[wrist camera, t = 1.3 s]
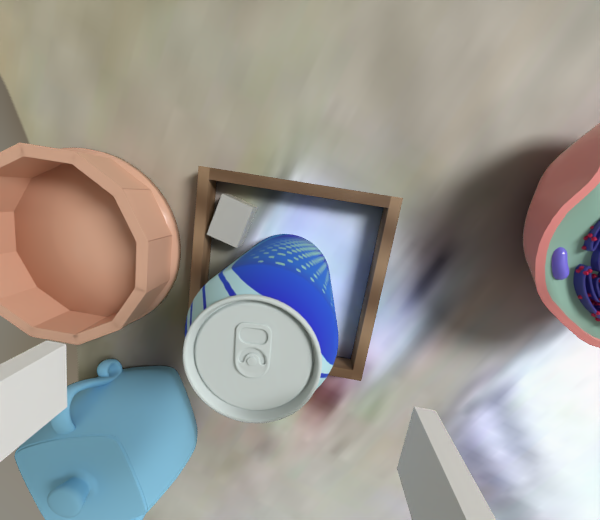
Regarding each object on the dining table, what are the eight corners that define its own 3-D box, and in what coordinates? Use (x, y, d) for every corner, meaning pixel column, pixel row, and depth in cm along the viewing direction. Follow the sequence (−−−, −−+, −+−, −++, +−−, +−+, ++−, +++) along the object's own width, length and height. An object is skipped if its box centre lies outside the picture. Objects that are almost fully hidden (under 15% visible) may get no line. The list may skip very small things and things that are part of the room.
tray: (207, 168, 27) (198, 165, 25) (396, 198, 27) (402, 198, 25) (193, 340, 31) (184, 349, 29) (358, 369, 31) (361, 380, 29)
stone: (230, 194, 28) (222, 193, 26) (258, 206, 28) (253, 207, 26) (215, 231, 29) (206, 234, 26) (243, 244, 29) (236, 248, 27)
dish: (5, 136, 28) (-62, 123, 23) (186, 164, 27) (157, 157, 22) (16, 308, 32) (-39, 328, 27) (175, 336, 31) (148, 362, 26)
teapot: (129, 481, 36) (44, 609, 25) (76, 353, 33) (-51, 434, 21) (223, 469, 35) (177, 598, 24) (177, 333, 31) (98, 409, 20)
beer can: (346, 274, 29) (381, 367, 13) (288, 328, 30) (256, 468, 15) (286, 214, 28) (244, 235, 12) (229, 273, 29) (127, 359, 14)
